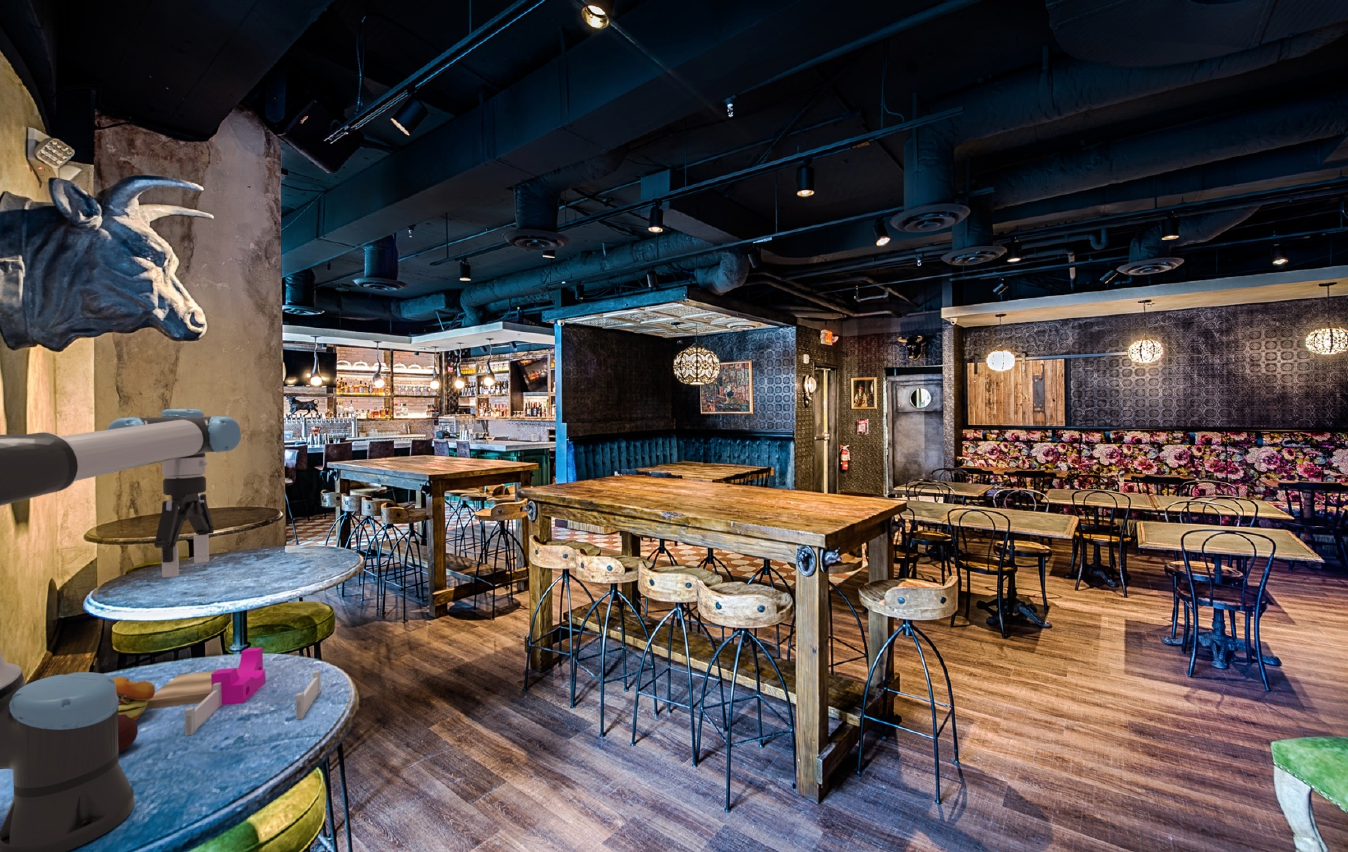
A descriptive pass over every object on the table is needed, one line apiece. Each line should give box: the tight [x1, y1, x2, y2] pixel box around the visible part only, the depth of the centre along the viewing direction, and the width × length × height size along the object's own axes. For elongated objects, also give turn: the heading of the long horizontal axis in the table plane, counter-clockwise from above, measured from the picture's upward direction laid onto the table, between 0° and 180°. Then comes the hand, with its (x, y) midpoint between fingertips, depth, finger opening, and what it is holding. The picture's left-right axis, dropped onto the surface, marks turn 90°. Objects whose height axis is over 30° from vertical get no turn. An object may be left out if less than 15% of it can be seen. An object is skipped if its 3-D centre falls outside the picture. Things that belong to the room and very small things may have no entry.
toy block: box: [211, 647, 266, 706], centre depth 138 cm, size 15×6×8 cm, turn 12°
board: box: [145, 667, 238, 710], centre depth 138 cm, size 14×14×2 cm
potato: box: [118, 715, 139, 754], centre depth 112 cm, size 7×8×7 cm
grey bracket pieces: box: [184, 669, 322, 737], centre depth 127 cm, size 13×21×5 cm, turn 107°
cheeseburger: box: [111, 676, 156, 721], centre depth 123 cm, size 10×11×10 cm
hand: (187, 569), depth 132 cm, fingers open, 13 cm apart
